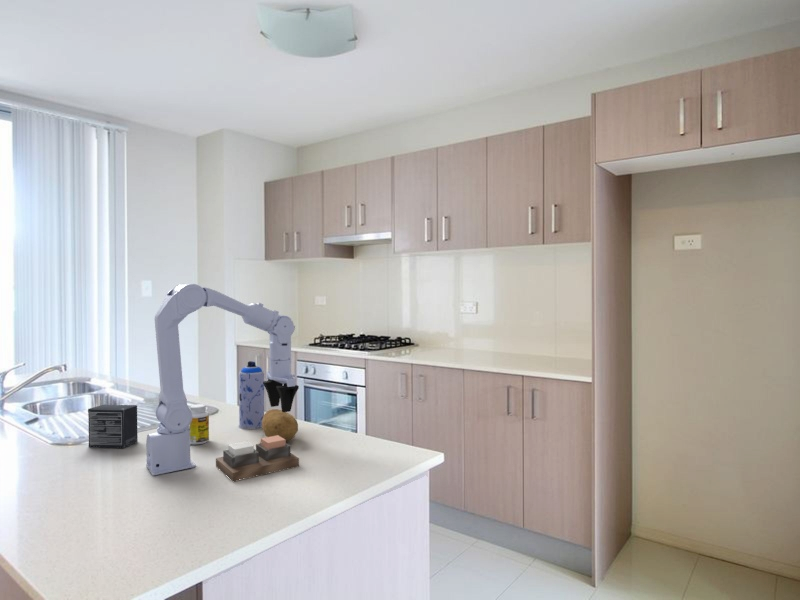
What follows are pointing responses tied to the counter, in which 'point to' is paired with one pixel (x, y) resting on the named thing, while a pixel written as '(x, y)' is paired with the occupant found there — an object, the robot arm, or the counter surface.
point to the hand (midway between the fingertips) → (280, 408)
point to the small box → (112, 426)
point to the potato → (279, 424)
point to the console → (256, 462)
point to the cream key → (240, 448)
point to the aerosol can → (251, 397)
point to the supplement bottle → (199, 424)
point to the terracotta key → (273, 442)
